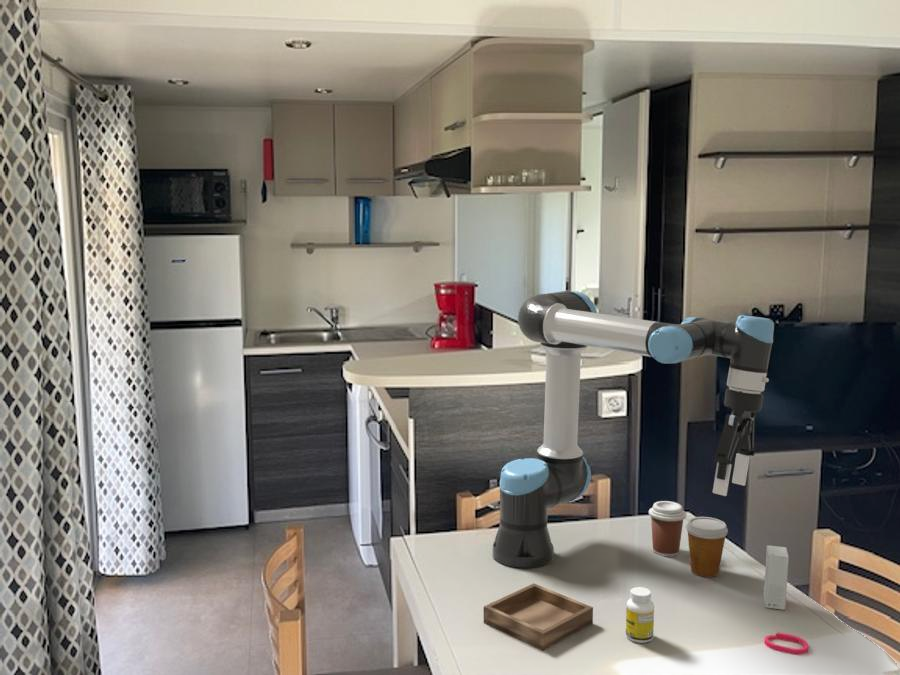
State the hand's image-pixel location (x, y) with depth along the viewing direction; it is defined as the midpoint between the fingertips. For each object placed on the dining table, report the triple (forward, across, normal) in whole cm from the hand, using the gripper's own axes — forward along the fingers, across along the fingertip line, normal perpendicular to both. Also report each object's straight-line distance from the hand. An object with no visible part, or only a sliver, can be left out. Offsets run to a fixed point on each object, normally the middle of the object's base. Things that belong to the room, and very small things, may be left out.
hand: (729, 489), depth 181 cm
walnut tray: (+32, -26, +27) cm, 49 cm away
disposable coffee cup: (+25, +19, +8) cm, 33 cm away
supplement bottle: (+30, -19, +8) cm, 36 cm away
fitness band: (+27, -6, -17) cm, 32 cm away
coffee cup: (+26, +26, +20) cm, 41 cm away
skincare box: (+25, +12, -10) cm, 29 cm away
